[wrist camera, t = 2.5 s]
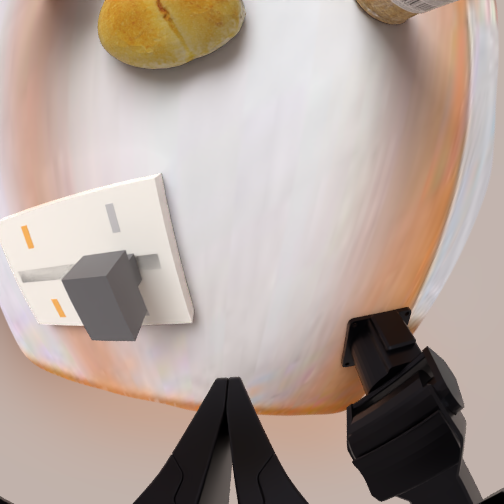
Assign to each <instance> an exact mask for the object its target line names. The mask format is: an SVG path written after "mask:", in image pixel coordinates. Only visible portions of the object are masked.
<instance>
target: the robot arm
mask: <svg viewBox="0 0 504 504" xmlns="http://www.w3.org/2000/svg"><path fill="white" fill-rule="evenodd" d="M410 315H411V310H410V308H408V307H405V308H401V309H396V310H392V311H387V312H383V313H378V314H373V315H368V316H363V317H357V318H353V319H351V320H350V321H349V322H348V327H347V334H346V340H345V346H344V351H343V357H342V366H343V367H349V366H354V365H355V366H356V369H357V372H358V374H359V377H360V380H361V382H362V385H363V388H364V391H365V393H366V396H365V397H363V398H362V399H360V400H359V401H357V402H356V403H354V404H351V405H349V406H348V407H347V449H348V452H349V453H350V455H351V457H352V459H353V461H352V463H353V464H354V466H355V467H356V468H357V469H358V470H359V471H360V472H361V474H362V475H363V477H364V479H365V481H366V483H367V485H368V487H369V490H370V492H371V495H372V496H373V497H375V498H376V499H377V500H379V501H381V502H382V501H385V500H388V499H390V498H392V497H394V496H396V497H399V498H401V499H404V500H407V501H409V502H410V504H504V488H502V489H500V490H499V491H497V492H495V493H493V494H491V495H490V496H488V497H487V498H485V499H482V497H481V495H480V492H479V490H478V488H477V486H476V484H475V482H474V480H473V478H472V476H471V474H470V472H469V470H468V468H467V466H466V465H465V462H464V460H463V451H464V442H465V433H466V420H465V418H464V416H463V415H462V413H461V411H460V410H462V409H463V408H464V403H463V400H462V396H461V393H460V390H459V386H458V384H457V381H456V378H455V376H454V375H453V373H452V371H451V370H450V369H449V367H448V365H447V364H446V362H445V361H444V360H443V359H442V358H441V357H439V356H438V355H437V354H436V353H435V352H434V351H433V350H431V349H430V348H429V347H428V346H427V347H426V348H425V349H424V350H422V351H423V352H421V350H420V349H419V347H418V345H417V344H416V339H415V338H414V336H413V334H412V333H411V331H410V330H409V328H408V327H407V325H408V322H409V319H410ZM354 323H355V324H354ZM172 454H173V455H171V456H170V457H169V459H168V460H167V462H166V464H165V465H164V467H163V468H162V469H161V471H160V472H159V474H158V475H157V476H156V477H155V479H154V480H153V481H152V483H151V484H150V485H149V486H148V487H147V488H146V490H145V491H144V492H143V493H142V494H141V495H140V496H139V497H138V498H137V500H136V501H135V502H134V503H133V504H228V503H229V492H230V481H231V468H232V465H233V471H234V479H235V485H236V492H237V499H238V504H309V503H308V502H307V501H306V500H305V498H304V497H303V496H302V495H301V493H300V492H299V491H298V490H297V488H296V487H295V486H294V484H293V483H292V482H291V480H290V479H289V477H288V476H287V474H286V472H285V471H284V469H283V467H282V465H281V463H280V462H279V460H278V458H277V456H276V454H275V452H274V450H273V448H272V446H271V444H270V442H269V439H268V437H267V435H266V433H265V431H264V429H263V427H262V425H261V422H260V420H259V418H258V416H257V414H256V412H255V409H254V407H253V405H252V403H251V400H250V398H249V396H248V394H247V391H246V389H245V387H244V384H243V382H242V380H241V378H240V377H230V378H229V379H228V378H217V379H216V380H215V382H214V383H213V385H212V387H211V389H210V390H209V392H208V394H207V395H206V397H205V399H204V401H203V402H202V404H201V406H200V407H199V409H198V411H197V413H196V414H195V416H194V418H193V419H192V421H191V423H190V424H189V426H188V428H187V429H186V431H185V433H184V434H183V436H182V438H181V440H180V441H179V443H178V444H177V446H176V448H175V449H174V451H173V452H172ZM0 504H13V503H11V502H10V501H8V500H6V499H4V498H2V497H1V496H0Z"/></svg>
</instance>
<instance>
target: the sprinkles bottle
mask: <svg viewBox="0 0 504 504" xmlns="http://www.w3.org/2000/svg"><path fill="white" fill-rule="evenodd" d="M455 1H458V0H357V2H358V3H359V4H360V6H361V7H362V8H363V9H364V10H365V11H366V12H367V13H368V14H369V15H371V16H372V17H374V18H375V19H377V20H380V21H381V22H384V23H388V24H401V23H403V22H405V21H406V20H407V19H408V18H410V17H412V16H415V15H417V14H419V13H425V12H428V11H430V10H433V9H435V8H438V7H441V6H444V5H446V4H449V3H452V2H455Z"/></svg>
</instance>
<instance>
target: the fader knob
mask: <svg viewBox="0 0 504 504" xmlns="http://www.w3.org/2000/svg"><path fill="white" fill-rule="evenodd" d="M61 281H62V283H63V285H64V287H65V290H66V292H67V294H68V296H69V298H70V300H71V302H72V304H73V306H74V308H75V310H76V312H77V314H78V316H79V318H80V320H81V321H82V323H83V325H84V327H85V329H86V331H87V332H88V334H89V336H90V338H91V339H92V340H101V341H135V340H136V338H137V335H138V333H139V330H140V328H141V325H142V323H143V320H144V318H145V315H146V313H147V309H146V306H145V304H144V301H143V298H142V296H141V293H140V290H139V288H138V286H139V284H140V283H141V281H142V277H141V274H140V271H139V268H138V265H137V262H136V259H135V256H134V254H127V253H126V250H121V251H114V252H107V253H100V254H93V255H86V256H83V257H82V258H81V259H80V260H79V261H78V262H77V263H76V264H75V265H74V266H73V267H72V269H71V270H70V271H69V272H68V273H67V274H66V275H65V276H64V277H63V279H62V280H61Z"/></svg>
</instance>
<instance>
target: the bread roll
mask: <svg viewBox="0 0 504 504" xmlns="http://www.w3.org/2000/svg"><path fill="white" fill-rule="evenodd" d="M245 15H246V12H245V9H244V5H243V2H242V0H105V2H104V4H103V6H102V9H101V11H100V15H99V19H98V35H99V38H100V42H101V44H102V46H103V47H104V49H105V50H106V51H107V52H108V53H109V54H110V55H112V56H113V57H115V58H116V59H118V60H120V61H121V62H123V63H126V64H128V65H132V66H135V67H141V68H146V69H159V68H164V69H166V68H171V67H176V66H180V65H183V64H185V63H187V62H189V61H191V60H193V59H195V58H199V57H202V56H205V55H207V54H210V53H212V52H214V51H215V50H217V49H218V48H220V47H221V46H223V45H224V44H226V43H227V42H228V41H229V40H230V39H231V38H233V37H234V36H235V35H236V34H237V33H238V32H239V31H240V28H241V26H242V23H243V20H244V17H245Z"/></svg>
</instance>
